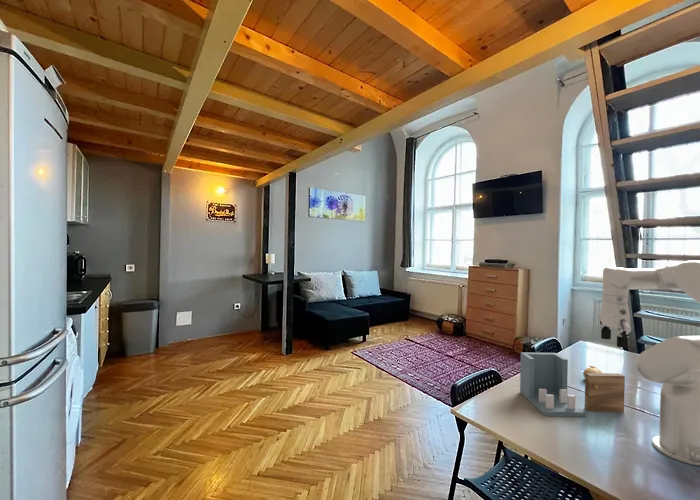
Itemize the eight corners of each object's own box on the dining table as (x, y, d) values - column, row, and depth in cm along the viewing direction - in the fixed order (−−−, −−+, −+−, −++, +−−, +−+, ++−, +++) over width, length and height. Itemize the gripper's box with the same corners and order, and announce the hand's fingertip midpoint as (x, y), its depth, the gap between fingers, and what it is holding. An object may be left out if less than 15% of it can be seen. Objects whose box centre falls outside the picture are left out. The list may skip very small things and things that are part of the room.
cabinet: (585, 416, 116) (586, 370, 115) (544, 415, 117) (545, 369, 116) (555, 393, 134) (556, 352, 133) (520, 392, 135) (520, 352, 134)
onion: (608, 383, 143) (608, 368, 143) (598, 387, 139) (599, 371, 139) (588, 376, 150) (589, 362, 150) (579, 380, 147) (579, 365, 147)
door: (626, 413, 118) (627, 377, 118) (590, 412, 119) (591, 376, 118) (618, 408, 121) (619, 373, 121) (584, 408, 122) (585, 372, 122)
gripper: (642, 304, 111) (641, 351, 111) (611, 295, 128) (610, 336, 128) (618, 303, 112) (617, 350, 113) (591, 294, 129) (590, 335, 130)
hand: (613, 342), depth 120 cm, fingers open, 9 cm apart
